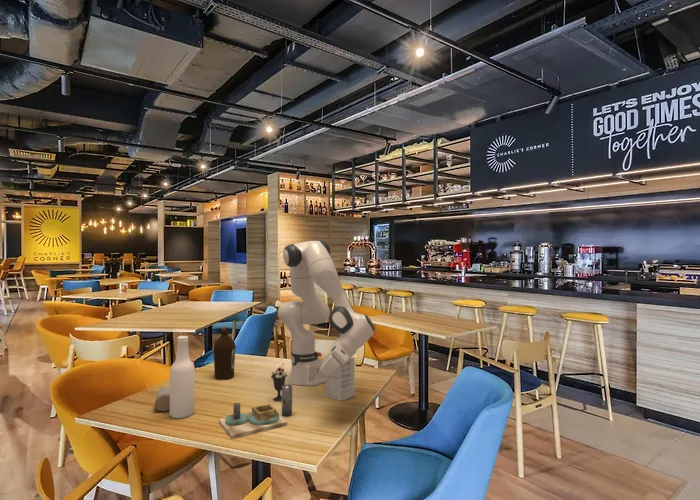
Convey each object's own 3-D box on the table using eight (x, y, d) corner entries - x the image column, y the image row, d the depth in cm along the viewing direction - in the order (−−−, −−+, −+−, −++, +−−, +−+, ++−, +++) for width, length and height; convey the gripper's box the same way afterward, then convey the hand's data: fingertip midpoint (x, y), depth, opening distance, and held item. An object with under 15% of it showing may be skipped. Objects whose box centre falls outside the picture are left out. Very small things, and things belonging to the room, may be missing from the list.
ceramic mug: (154, 413, 153) (154, 393, 153) (156, 406, 161) (157, 387, 161) (183, 410, 157) (184, 391, 157) (184, 403, 164) (185, 385, 164)
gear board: (270, 410, 156) (270, 392, 156) (286, 425, 143) (286, 404, 143) (218, 422, 145) (218, 402, 145) (231, 439, 132) (231, 416, 132)
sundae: (289, 397, 171) (289, 362, 171) (282, 402, 165) (282, 366, 165) (276, 395, 173) (276, 361, 173) (268, 401, 167) (268, 365, 167)
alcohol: (178, 421, 146) (179, 339, 147) (164, 416, 151) (165, 337, 151) (199, 413, 154) (199, 335, 154) (185, 408, 158) (185, 333, 159)
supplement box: (355, 396, 173) (355, 357, 173) (340, 401, 166) (340, 361, 166) (339, 391, 179) (339, 353, 180) (325, 396, 173) (325, 357, 173)
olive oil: (212, 381, 193) (212, 330, 194) (214, 374, 204) (215, 326, 204) (234, 379, 196) (234, 329, 196) (235, 373, 206) (236, 325, 206)
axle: (289, 411, 155) (289, 383, 155) (293, 415, 152) (293, 386, 152) (279, 414, 153) (280, 385, 153) (284, 417, 150) (284, 388, 150)
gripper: (337, 339, 163) (313, 362, 163) (333, 350, 142) (306, 377, 142) (348, 350, 162) (324, 373, 163) (346, 363, 142) (319, 390, 142)
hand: (316, 375), depth 152 cm, fingers open, 8 cm apart
